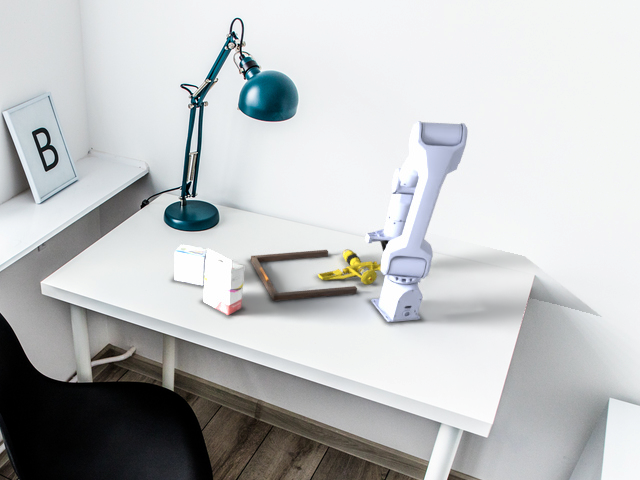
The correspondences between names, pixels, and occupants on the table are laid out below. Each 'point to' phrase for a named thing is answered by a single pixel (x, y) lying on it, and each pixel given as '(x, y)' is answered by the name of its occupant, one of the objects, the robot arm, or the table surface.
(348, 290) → the frame
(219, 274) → the ink cartridge box
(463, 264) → the table surface
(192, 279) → the medicine box
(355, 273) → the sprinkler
